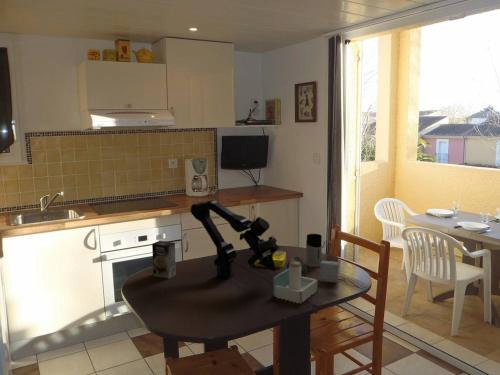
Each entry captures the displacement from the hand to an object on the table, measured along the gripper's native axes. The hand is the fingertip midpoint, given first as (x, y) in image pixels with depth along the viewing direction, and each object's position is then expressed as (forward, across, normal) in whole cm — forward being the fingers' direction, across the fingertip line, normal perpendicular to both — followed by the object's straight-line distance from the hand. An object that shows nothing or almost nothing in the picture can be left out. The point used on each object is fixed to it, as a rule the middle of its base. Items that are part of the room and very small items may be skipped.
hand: (275, 270), depth 190 cm
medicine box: (+17, +22, -6) cm, 29 cm away
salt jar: (+12, 0, -2) cm, 12 cm away
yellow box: (-7, +29, +20) cm, 36 cm away
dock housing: (+13, 0, -1) cm, 13 cm away
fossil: (+6, +21, +6) cm, 23 cm away
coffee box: (-30, -14, +44) cm, 55 cm away
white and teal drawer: (+13, 0, -1) cm, 13 cm away
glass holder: (+8, +39, +4) cm, 40 cm away
